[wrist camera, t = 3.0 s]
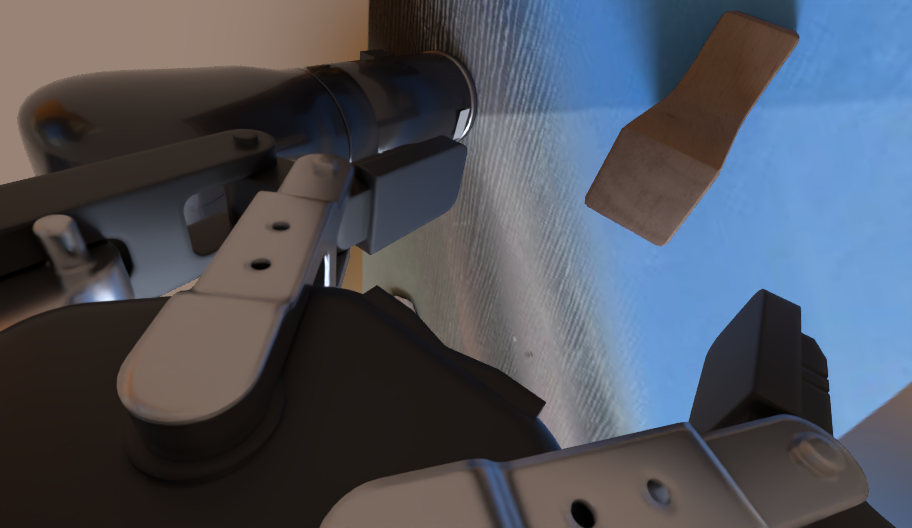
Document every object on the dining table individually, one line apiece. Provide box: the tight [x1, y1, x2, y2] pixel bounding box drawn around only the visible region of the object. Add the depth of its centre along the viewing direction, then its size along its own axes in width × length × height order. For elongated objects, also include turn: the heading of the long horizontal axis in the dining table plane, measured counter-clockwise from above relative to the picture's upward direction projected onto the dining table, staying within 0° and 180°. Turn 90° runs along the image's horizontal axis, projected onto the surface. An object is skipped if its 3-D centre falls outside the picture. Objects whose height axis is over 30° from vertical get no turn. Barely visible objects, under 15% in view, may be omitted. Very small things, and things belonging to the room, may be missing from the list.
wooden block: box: [585, 11, 799, 246], centre depth 24 cm, size 9×4×18 cm, turn 162°
